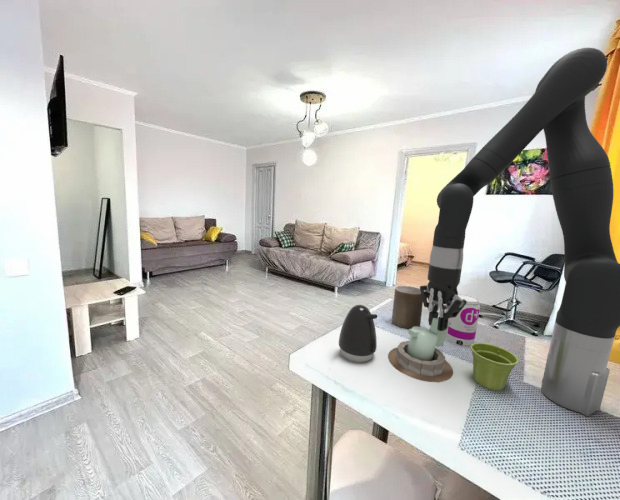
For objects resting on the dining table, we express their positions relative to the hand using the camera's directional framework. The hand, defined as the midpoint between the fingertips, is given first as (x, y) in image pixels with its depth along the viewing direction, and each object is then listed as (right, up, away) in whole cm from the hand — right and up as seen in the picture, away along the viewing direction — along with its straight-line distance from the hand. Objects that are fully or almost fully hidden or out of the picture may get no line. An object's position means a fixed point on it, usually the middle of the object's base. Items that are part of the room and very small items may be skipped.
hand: (436, 327), depth 71 cm
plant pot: (+9, -12, -6) cm, 17 cm away
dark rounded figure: (-21, -9, +2) cm, 23 cm away
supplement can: (+14, -9, +14) cm, 22 cm away
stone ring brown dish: (-5, -10, 0) cm, 11 cm away
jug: (-5, -9, 0) cm, 10 cm away
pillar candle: (0, -7, +24) cm, 25 cm away
